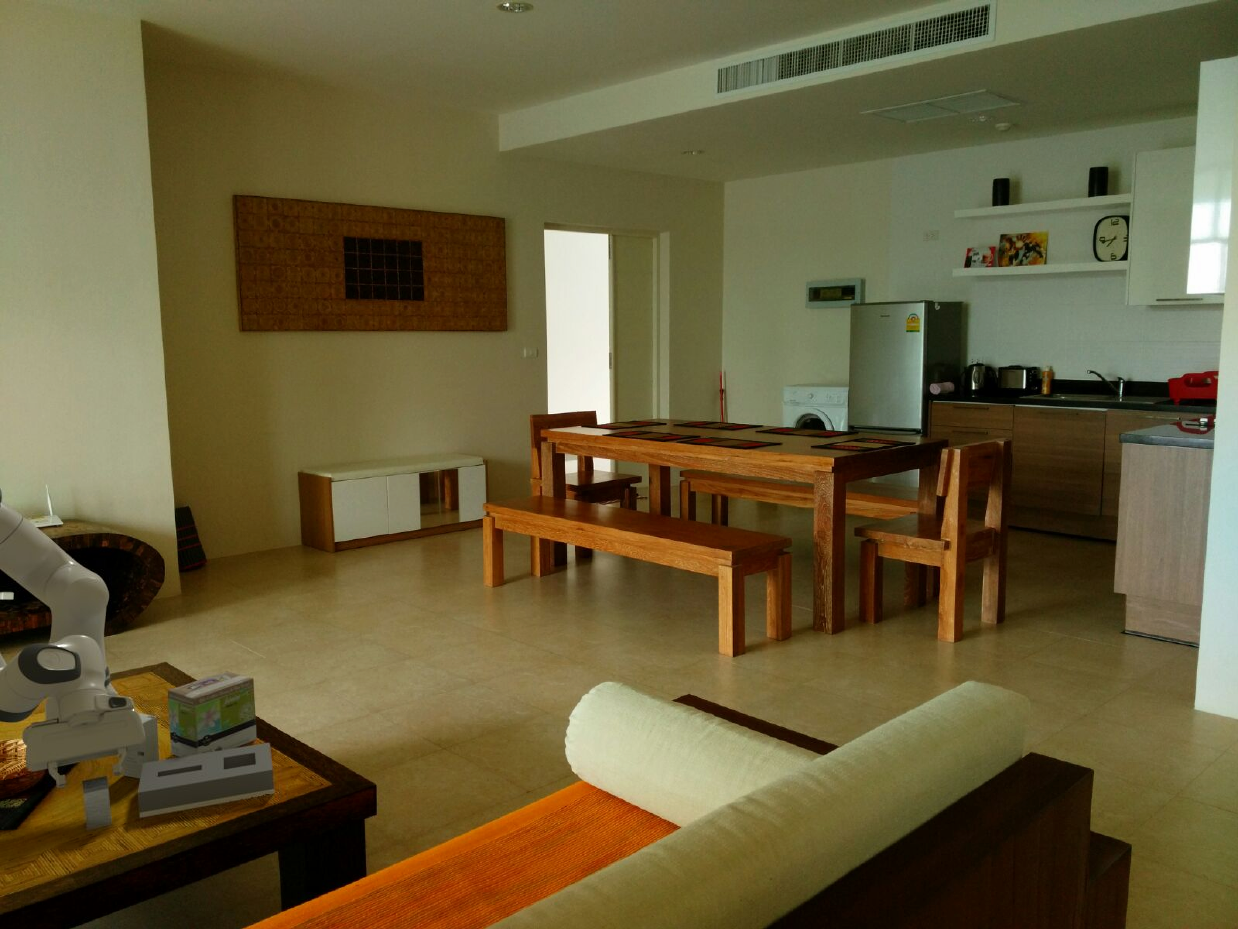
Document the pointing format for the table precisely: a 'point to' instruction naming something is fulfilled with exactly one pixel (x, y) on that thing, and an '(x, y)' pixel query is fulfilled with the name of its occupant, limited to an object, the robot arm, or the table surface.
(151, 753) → the skincare box
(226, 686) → the tea box
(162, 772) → the caddy
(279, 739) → the table surface
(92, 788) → the grey square-topped block
